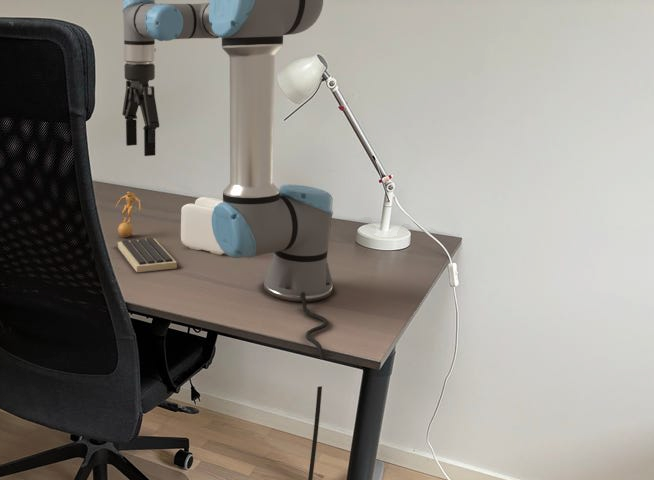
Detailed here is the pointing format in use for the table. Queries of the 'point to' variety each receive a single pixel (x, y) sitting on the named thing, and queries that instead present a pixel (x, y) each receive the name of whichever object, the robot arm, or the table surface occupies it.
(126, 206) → the figurine
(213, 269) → the table surface
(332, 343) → the table surface
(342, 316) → the table surface
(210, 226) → the cable organizer
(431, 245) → the table surface
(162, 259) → the keyboard
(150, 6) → the robot arm
